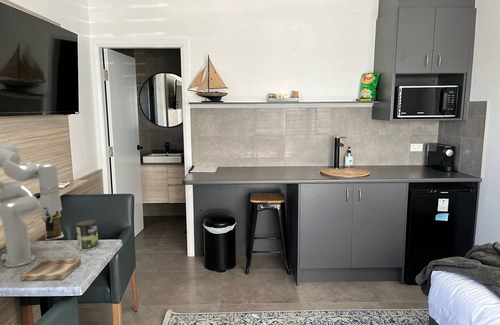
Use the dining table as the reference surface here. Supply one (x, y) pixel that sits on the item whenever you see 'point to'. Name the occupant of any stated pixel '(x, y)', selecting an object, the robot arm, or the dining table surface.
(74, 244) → the dining table surface
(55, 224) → the condiment
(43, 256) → the dining table surface
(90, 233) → the coffee can
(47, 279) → the tray
